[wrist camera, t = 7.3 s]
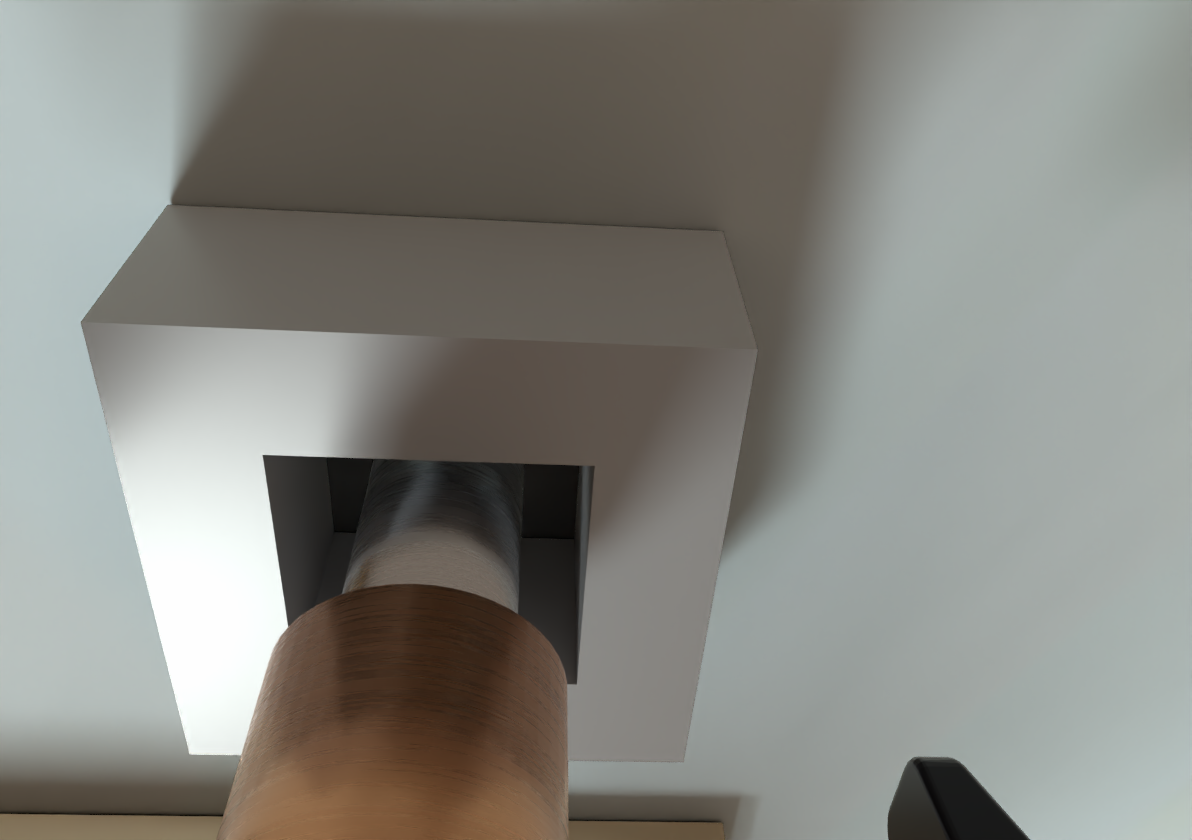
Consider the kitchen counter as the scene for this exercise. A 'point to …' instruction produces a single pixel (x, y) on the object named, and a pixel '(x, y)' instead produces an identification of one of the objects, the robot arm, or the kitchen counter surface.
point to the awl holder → (427, 433)
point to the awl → (414, 681)
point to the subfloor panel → (196, 835)
